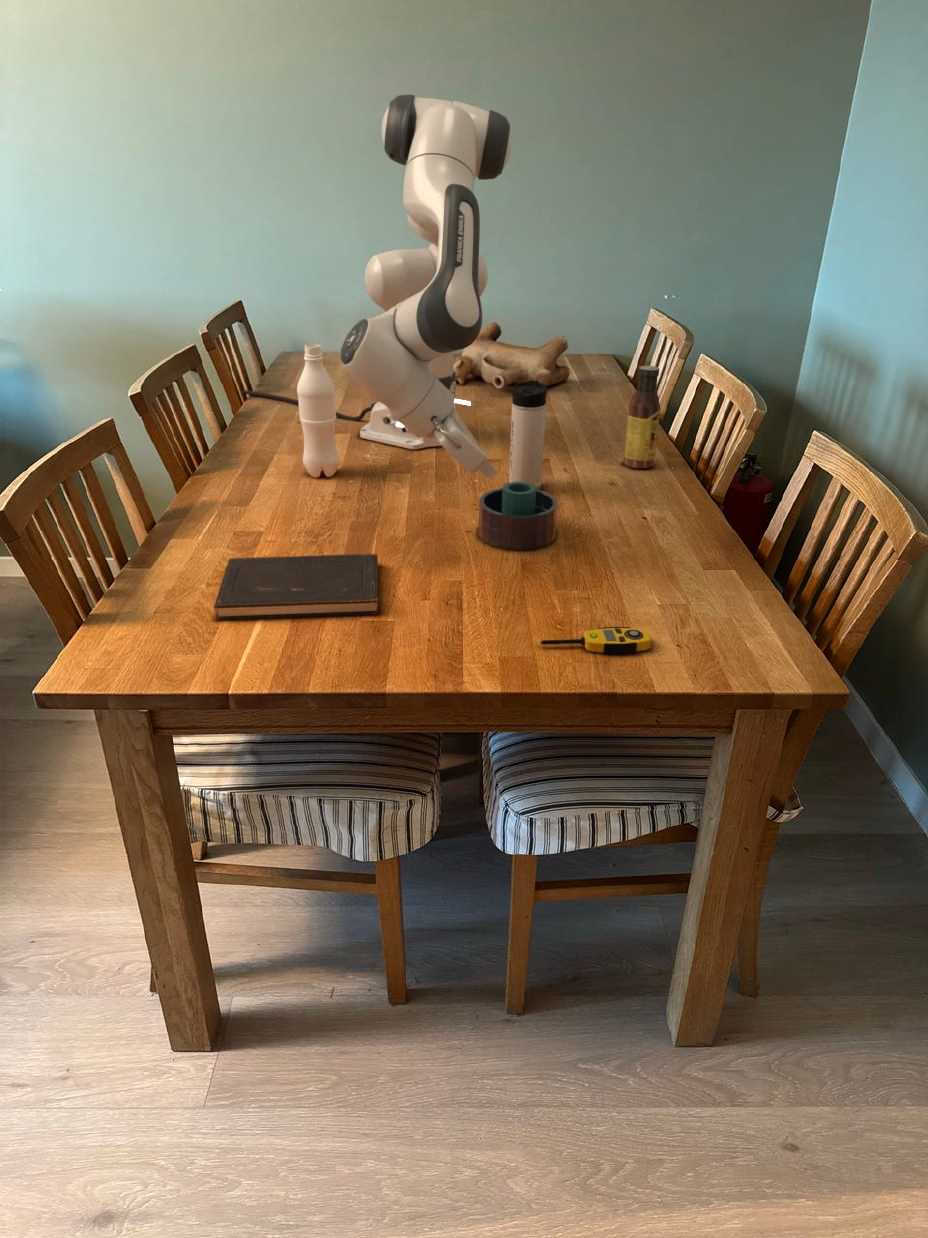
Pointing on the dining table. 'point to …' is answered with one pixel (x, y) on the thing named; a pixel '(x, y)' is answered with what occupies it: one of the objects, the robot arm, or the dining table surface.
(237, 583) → the hardcover book
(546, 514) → the pot
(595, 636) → the yellow walkie talkie
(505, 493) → the teal hollow cylinder
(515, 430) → the travel mug
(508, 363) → the ceramic vessel
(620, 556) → the dining table surface
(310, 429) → the water bottle
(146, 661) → the dining table surface
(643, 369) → the sauce bottle
